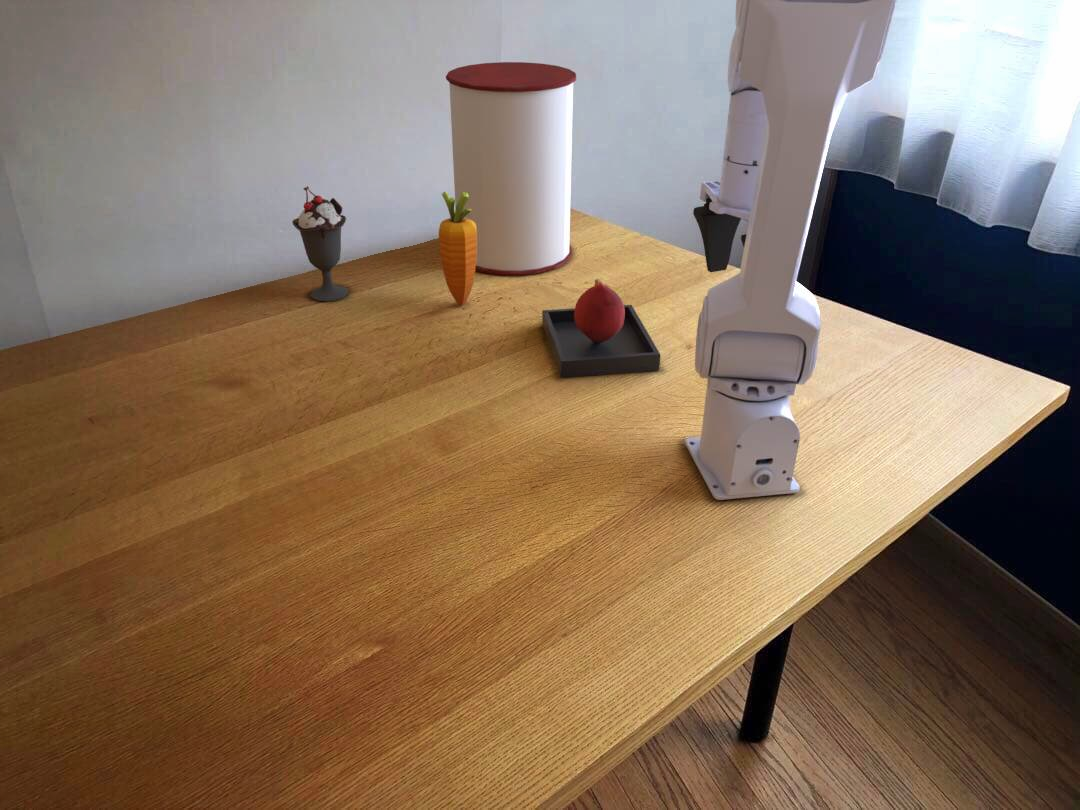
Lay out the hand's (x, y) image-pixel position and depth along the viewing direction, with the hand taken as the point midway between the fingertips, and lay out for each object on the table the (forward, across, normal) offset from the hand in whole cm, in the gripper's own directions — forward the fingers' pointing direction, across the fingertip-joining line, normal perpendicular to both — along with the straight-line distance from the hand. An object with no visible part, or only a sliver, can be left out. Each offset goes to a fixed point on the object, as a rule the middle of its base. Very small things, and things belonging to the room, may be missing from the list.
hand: (735, 282), depth 94 cm
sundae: (+10, -35, -39) cm, 53 cm away
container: (+10, -40, -11) cm, 42 cm away
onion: (+9, -8, -12) cm, 17 cm away
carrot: (+10, -25, -24) cm, 36 cm away
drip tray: (+9, -8, -12) cm, 18 cm away
